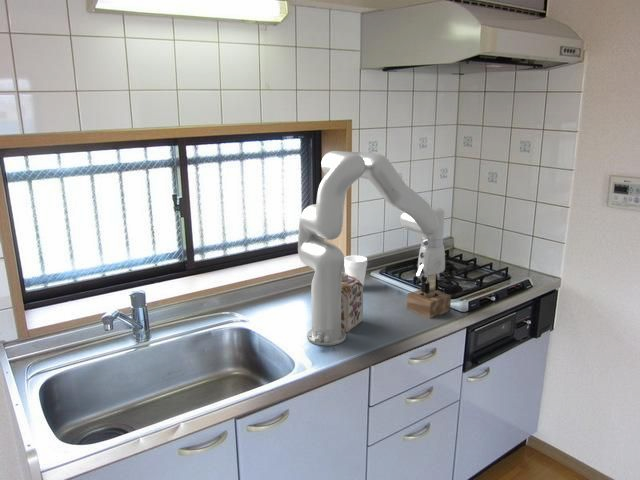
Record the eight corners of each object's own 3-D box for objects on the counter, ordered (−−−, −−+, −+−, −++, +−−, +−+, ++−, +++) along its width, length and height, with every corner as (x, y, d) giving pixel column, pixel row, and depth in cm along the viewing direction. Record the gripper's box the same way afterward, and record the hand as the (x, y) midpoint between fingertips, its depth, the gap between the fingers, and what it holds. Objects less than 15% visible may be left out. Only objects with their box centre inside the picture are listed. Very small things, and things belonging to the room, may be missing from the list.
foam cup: (366, 285, 216) (367, 255, 212) (366, 293, 207) (367, 262, 203) (344, 285, 216) (344, 255, 213) (342, 292, 208) (343, 261, 204)
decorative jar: (347, 333, 172) (347, 282, 167) (317, 325, 177) (317, 276, 173) (363, 320, 181) (364, 271, 177) (334, 313, 187) (334, 266, 183)
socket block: (429, 318, 183) (430, 302, 181) (406, 308, 191) (407, 293, 190) (450, 310, 189) (451, 295, 188) (427, 301, 198) (428, 287, 196)
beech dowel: (434, 304, 187) (436, 272, 184) (423, 303, 188) (424, 271, 185) (434, 299, 191) (436, 268, 188) (423, 299, 192) (424, 268, 189)
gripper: (424, 248, 176) (421, 299, 181) (455, 240, 186) (452, 288, 190) (407, 244, 182) (405, 293, 186) (439, 236, 191) (436, 283, 196)
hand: (429, 290), depth 188 cm, fingers closed on beech dowel, 4 cm apart
